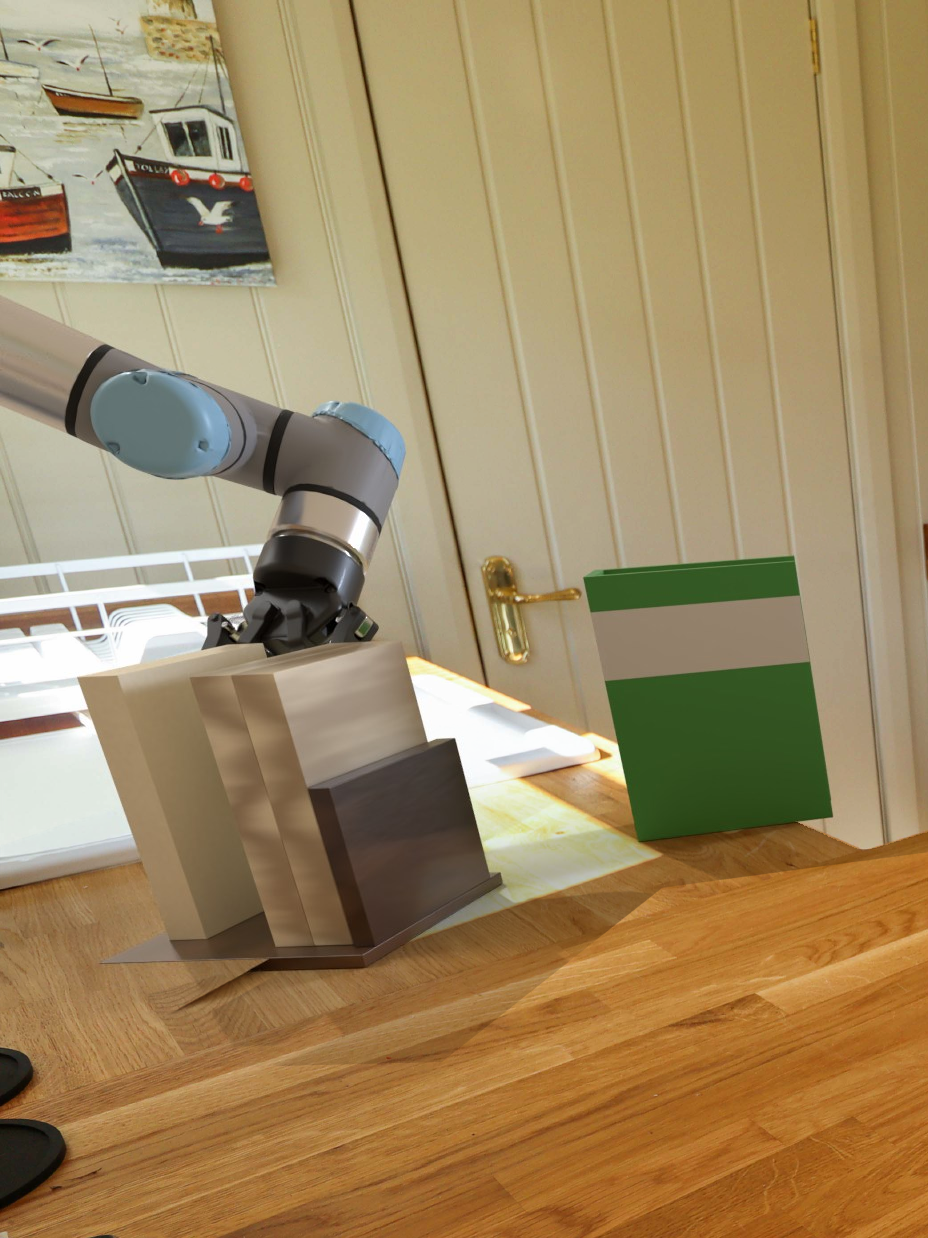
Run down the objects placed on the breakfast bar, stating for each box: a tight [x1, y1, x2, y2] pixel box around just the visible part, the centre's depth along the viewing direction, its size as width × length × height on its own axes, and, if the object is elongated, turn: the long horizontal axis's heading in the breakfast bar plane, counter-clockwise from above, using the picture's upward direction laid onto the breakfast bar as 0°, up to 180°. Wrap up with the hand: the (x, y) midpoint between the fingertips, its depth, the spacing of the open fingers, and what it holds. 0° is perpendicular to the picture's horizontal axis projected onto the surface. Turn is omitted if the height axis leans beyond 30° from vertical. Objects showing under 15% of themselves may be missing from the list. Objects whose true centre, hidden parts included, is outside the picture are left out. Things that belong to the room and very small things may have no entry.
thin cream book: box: [76, 643, 267, 940], centre depth 98 cm, size 3×14×20 cm, turn 178°
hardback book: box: [582, 554, 834, 843], centre depth 119 cm, size 18×7×24 cm, turn 107°
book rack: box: [98, 639, 504, 972], centre depth 96 cm, size 20×18×21 cm
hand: (232, 793), depth 100 cm, fingers open, 5 cm apart
